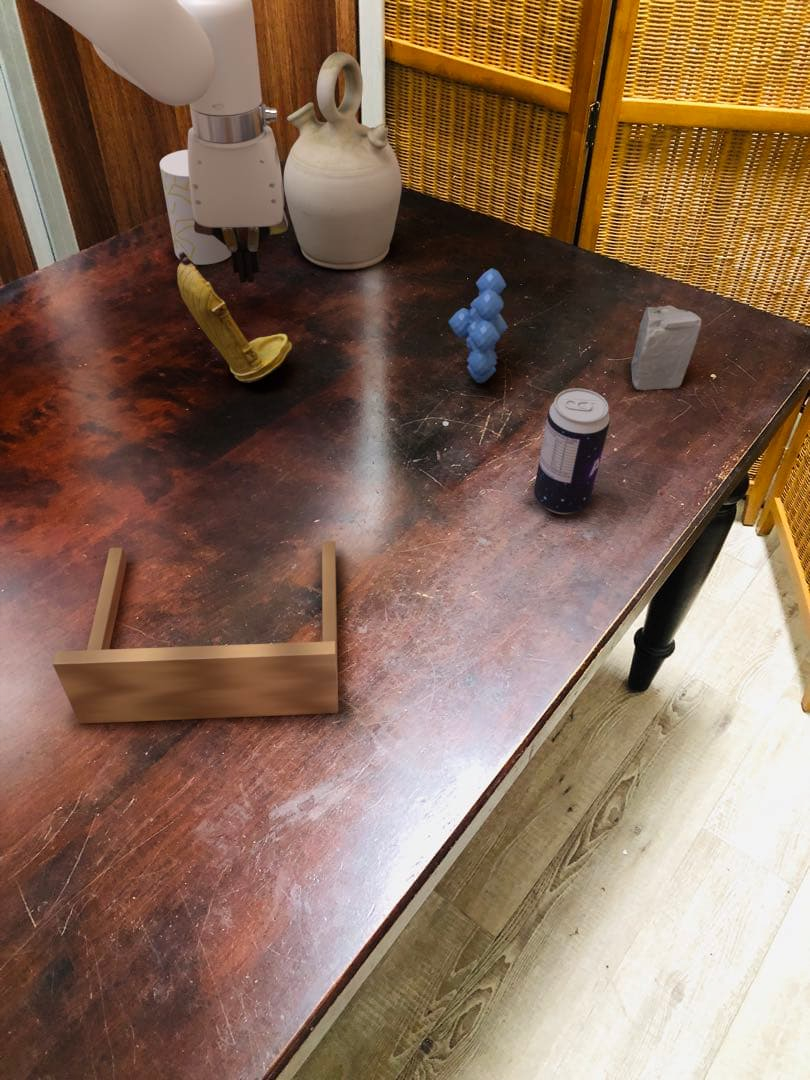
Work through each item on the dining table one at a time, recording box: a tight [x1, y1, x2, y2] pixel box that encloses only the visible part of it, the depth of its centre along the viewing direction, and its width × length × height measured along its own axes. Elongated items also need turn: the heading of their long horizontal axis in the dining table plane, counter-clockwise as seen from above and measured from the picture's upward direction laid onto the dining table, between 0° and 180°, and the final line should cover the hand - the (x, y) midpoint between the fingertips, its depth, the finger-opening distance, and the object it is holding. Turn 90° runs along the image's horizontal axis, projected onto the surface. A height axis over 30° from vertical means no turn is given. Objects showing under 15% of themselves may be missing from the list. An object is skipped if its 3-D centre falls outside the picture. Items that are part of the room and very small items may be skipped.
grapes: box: [448, 267, 509, 384], centre depth 99 cm, size 12×7×12 cm, turn 172°
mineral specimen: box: [630, 304, 703, 391], centre depth 101 cm, size 7×9×8 cm
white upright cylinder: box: [159, 149, 232, 266], centre depth 117 cm, size 8×8×12 cm
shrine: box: [176, 251, 293, 384], centre depth 96 cm, size 12×8×15 cm
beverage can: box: [533, 387, 611, 515], centre depth 84 cm, size 6×6×12 cm
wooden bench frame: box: [52, 541, 339, 725], centre depth 73 cm, size 20×17×8 cm
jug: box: [283, 51, 403, 271], centre depth 113 cm, size 15×16×25 cm
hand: (247, 276), depth 106 cm, fingers closed
